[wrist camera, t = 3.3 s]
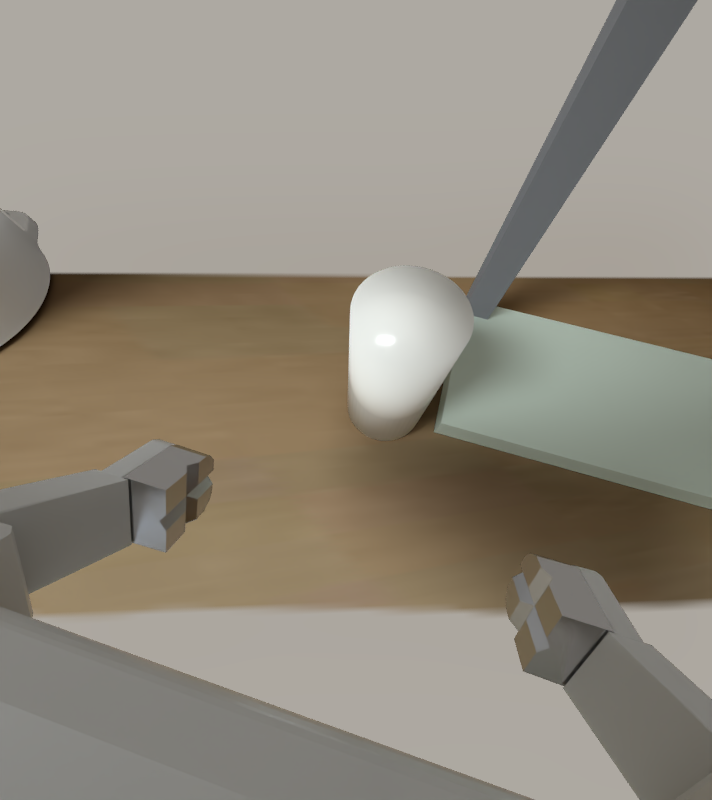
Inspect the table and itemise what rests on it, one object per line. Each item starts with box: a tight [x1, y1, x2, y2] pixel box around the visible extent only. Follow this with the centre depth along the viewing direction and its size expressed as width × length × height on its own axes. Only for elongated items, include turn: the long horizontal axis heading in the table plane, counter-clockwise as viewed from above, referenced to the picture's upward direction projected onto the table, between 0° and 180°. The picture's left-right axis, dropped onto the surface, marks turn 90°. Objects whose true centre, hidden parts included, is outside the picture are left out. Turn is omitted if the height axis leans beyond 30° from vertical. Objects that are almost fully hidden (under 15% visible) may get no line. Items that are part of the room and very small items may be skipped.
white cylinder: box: [348, 266, 474, 441], centre depth 20 cm, size 6×6×11 cm
